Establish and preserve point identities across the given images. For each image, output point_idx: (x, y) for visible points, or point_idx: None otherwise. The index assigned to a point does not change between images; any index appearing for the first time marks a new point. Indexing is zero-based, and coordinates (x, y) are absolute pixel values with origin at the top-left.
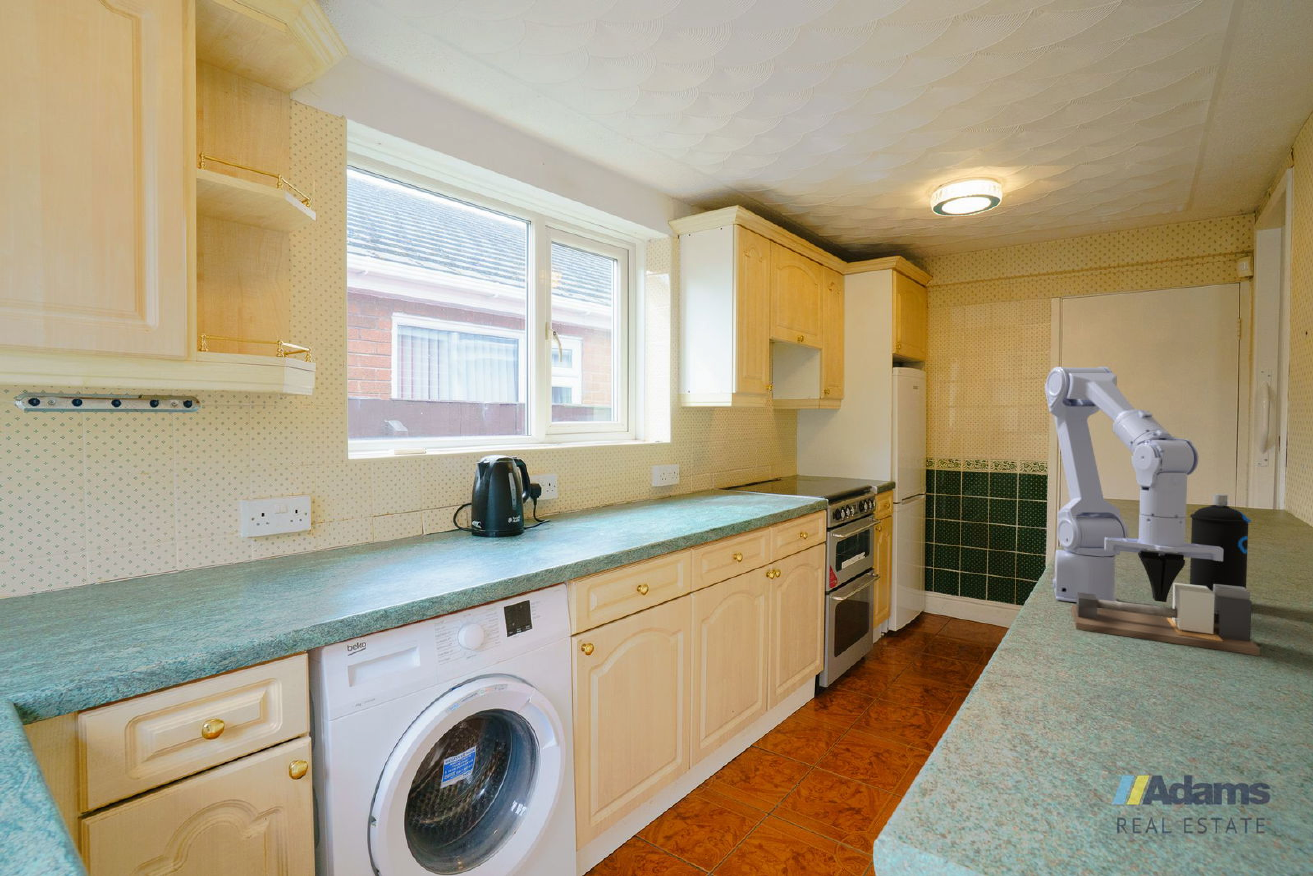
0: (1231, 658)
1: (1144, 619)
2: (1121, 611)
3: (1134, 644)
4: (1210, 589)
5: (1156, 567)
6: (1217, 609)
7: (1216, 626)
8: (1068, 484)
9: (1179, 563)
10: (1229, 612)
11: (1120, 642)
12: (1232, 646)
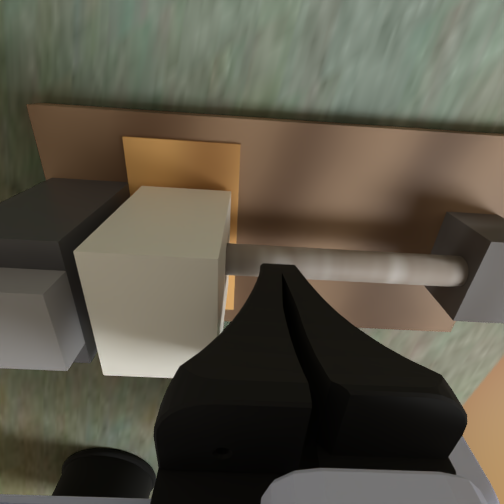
0: (117, 15)
1: None
2: None
3: (397, 28)
4: (109, 493)
5: (347, 358)
6: None
7: None
8: None
9: (208, 377)
10: (57, 212)
11: (439, 29)
12: (101, 108)
